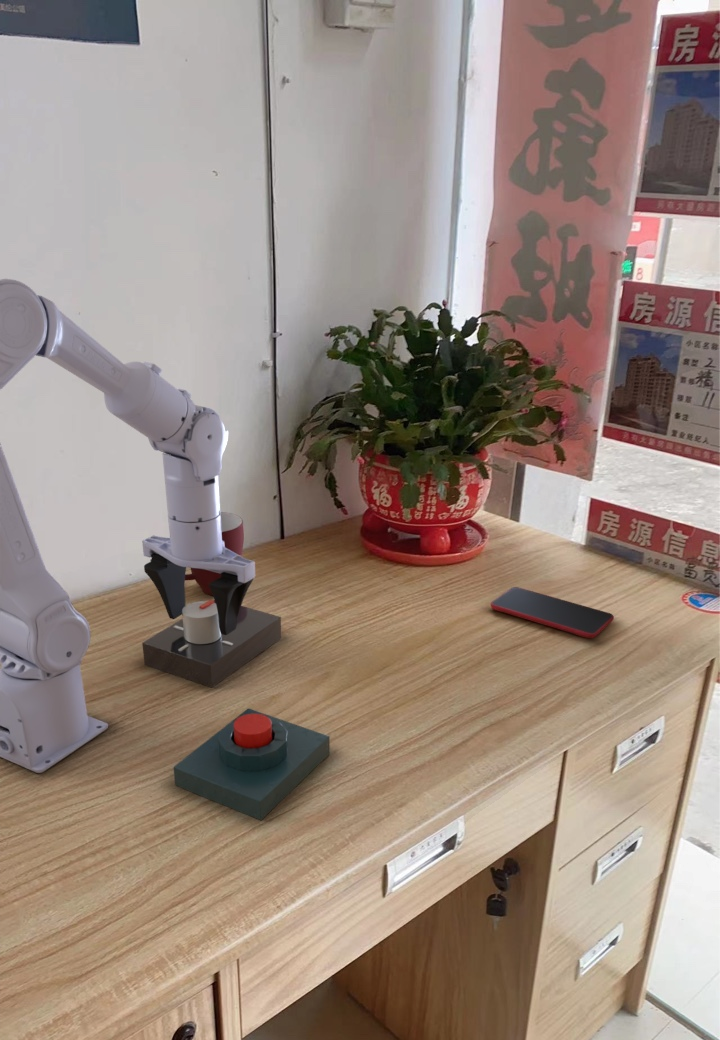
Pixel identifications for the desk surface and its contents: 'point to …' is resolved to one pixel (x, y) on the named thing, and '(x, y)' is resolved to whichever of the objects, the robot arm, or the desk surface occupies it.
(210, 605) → the knob
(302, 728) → the switch block
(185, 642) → the panel
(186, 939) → the desk surface
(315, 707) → the desk surface
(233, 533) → the mug
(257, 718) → the button
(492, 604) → the smartphone
